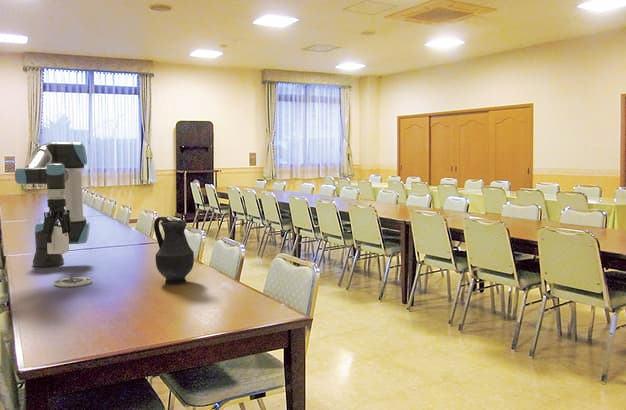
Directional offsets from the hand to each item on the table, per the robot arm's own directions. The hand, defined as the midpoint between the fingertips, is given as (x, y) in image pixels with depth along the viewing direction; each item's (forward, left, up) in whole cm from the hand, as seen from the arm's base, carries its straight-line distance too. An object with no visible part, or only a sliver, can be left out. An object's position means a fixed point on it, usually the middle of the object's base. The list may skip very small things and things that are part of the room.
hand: (58, 248), depth 261 cm
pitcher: (+46, +18, -17) cm, 53 cm away
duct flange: (+4, +3, -16) cm, 17 cm away
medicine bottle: (0, 0, -2) cm, 2 cm away
